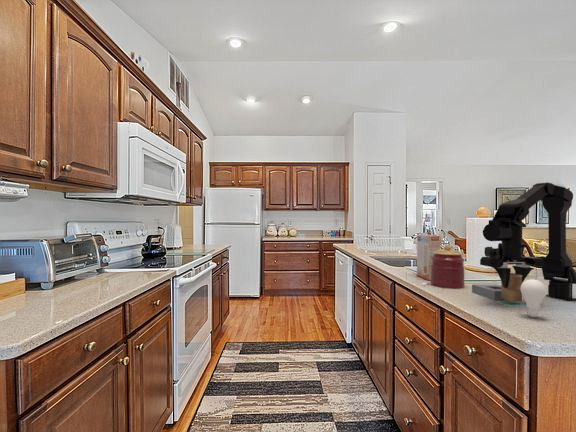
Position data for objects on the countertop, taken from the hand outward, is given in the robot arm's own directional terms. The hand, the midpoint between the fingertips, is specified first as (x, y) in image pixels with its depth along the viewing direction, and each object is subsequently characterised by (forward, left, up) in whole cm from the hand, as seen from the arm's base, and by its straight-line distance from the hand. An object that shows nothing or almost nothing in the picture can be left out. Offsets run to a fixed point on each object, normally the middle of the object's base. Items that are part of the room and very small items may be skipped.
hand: (511, 287), depth 109 cm
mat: (0, 0, -6) cm, 6 cm away
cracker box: (+2, -49, -6) cm, 49 cm away
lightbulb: (+4, +13, -6) cm, 15 cm away
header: (-3, -11, -6) cm, 13 cm away
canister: (+4, -30, -6) cm, 31 cm away
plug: (0, 0, -4) cm, 4 cm away
